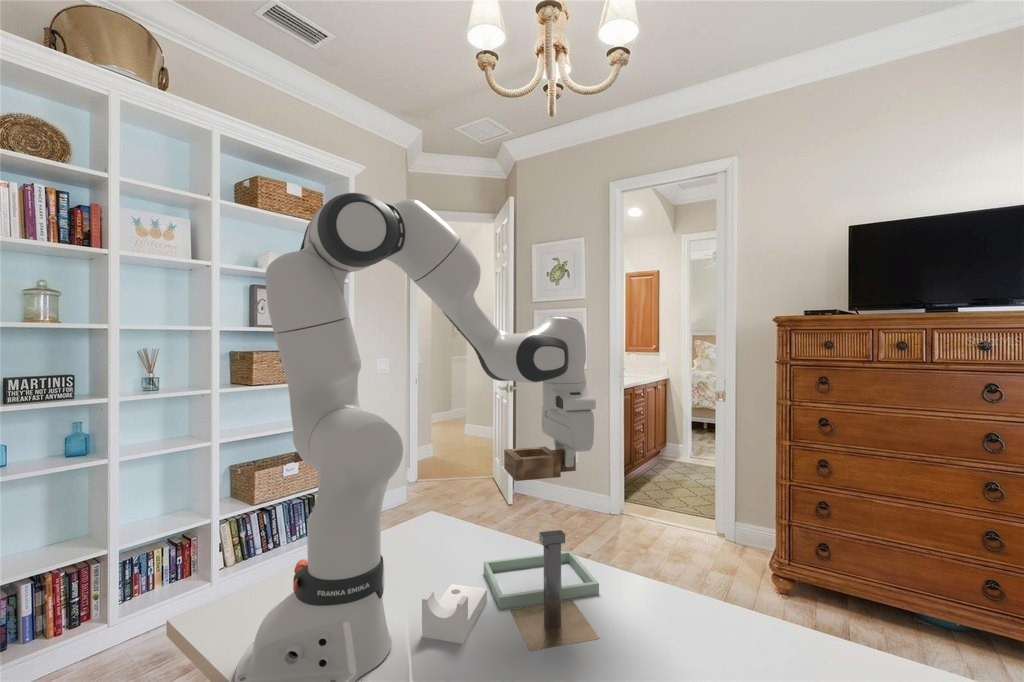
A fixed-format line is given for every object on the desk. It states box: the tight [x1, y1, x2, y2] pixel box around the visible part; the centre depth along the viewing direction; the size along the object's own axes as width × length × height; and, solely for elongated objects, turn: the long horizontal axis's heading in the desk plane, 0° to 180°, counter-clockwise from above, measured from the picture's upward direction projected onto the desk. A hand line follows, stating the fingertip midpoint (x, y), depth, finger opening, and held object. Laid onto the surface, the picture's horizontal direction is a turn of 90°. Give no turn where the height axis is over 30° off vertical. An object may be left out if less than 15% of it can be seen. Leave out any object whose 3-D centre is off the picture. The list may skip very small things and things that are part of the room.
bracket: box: [421, 583, 488, 645], centre depth 84 cm, size 13×7×8 cm, turn 165°
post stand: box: [509, 529, 600, 652], centre depth 83 cm, size 12×12×16 cm
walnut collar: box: [503, 446, 577, 482], centre depth 97 cm, size 14×9×4 cm, turn 105°
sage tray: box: [483, 550, 600, 610], centre depth 97 cm, size 20×15×3 cm
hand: (564, 463), depth 98 cm, fingers closed on walnut collar, 2 cm apart
